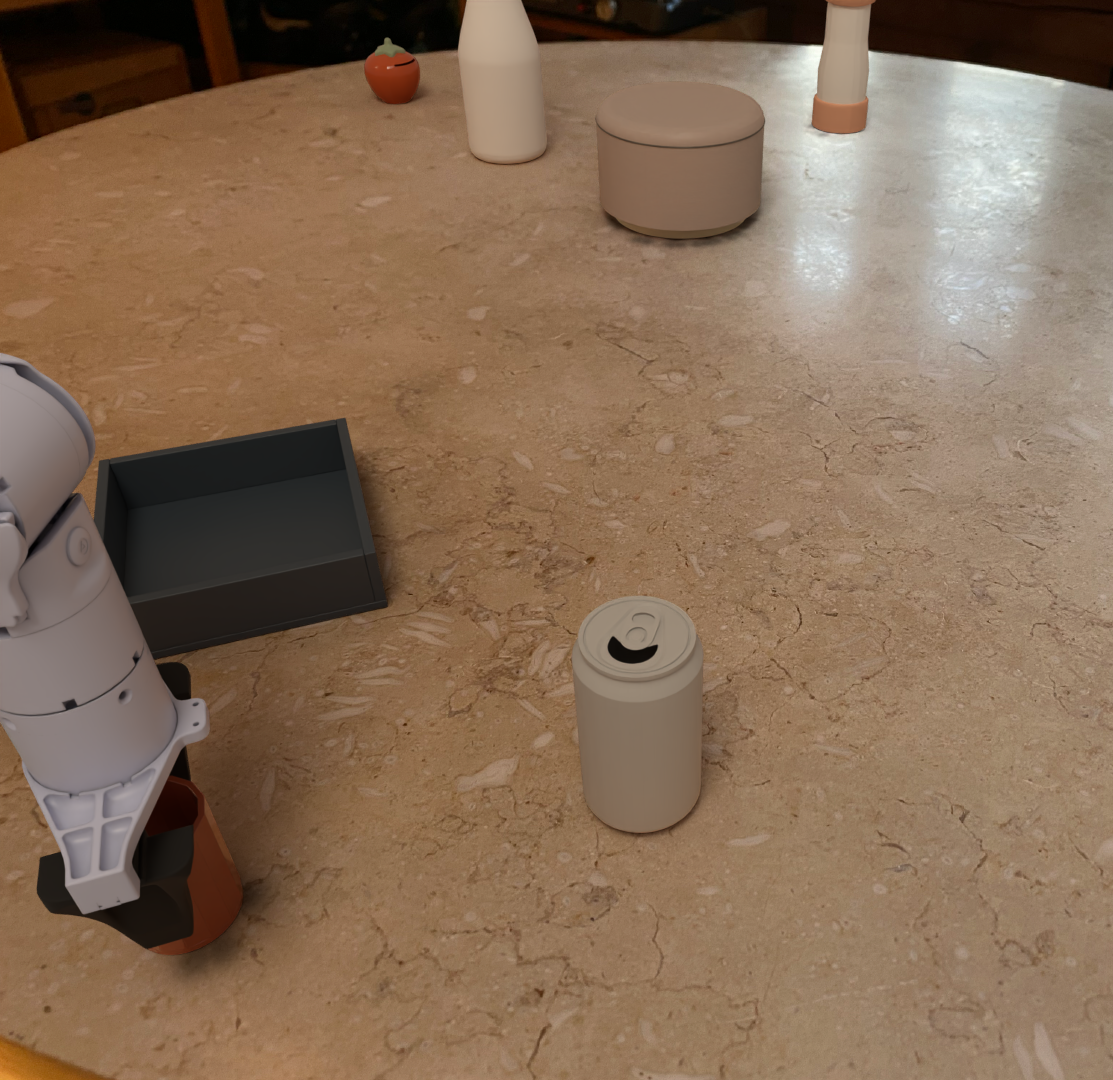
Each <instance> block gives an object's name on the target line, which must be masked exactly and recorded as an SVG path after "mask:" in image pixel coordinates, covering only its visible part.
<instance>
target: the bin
mask: <svg viewBox="0 0 1113 1080" xmlns="http://www.w3.org/2000/svg"><path fill="white" fill-rule="evenodd" d="M97 466H98V467H97V476H96V477H97V478H96V489H95V499H94V511H93V520H94V523H95V525H96V527H97V530H98V532H99V534H100V537H101V539H102V541H103V543H104V546H105V548H106V550H107V553H108V555H109V557H110V560H111V562H112V564H113V566H114V569H115V571H116V573H117V576H118V578H119V580H120V583H121V585H122V587H123V589H124V592H125V594H126V596H127V599H128V601H129V603H130V606H131V608H132V610H133V612H134V615H135V617H136V619H137V622H138V624H139V626H140V629H141V631H142V634H143V636H144V638H145V641H146V643H147V645H148V648H149V650H150V652H151V655H152V657H153V659H154V660H156V659H162V658H165V657H170V656H175V655H178V654H184V653H188V652H191V651H197V650H200V649H201V650H202V649H206V648H209V647H214V646H218V645H223V644H228V643H231V642H237V641H241V640H246V639H249V638H254V637H258V636H263V635H267V634H273V633H276V632H281V631H285V630H290V629H293V628H298V627H303V626H307V625H313V624H316V623H320V622H325V621H330V620H334V619H338V618H343V617H348V616H352V615H356V614H360V613H364V612H370V611H373V610H374V611H375V610H378V609H383V608H387V607H388V606H389V604H388V603H389V602H388V599H387V594H386V589H385V587H384V586H385V585H384V582H383V576H382V573H381V568H380V564H379V558H378V554H377V549H376V545H375V541H374V537H373V533H372V528H371V524H370V519H369V514H368V510H367V505H366V501H365V497H364V492H363V487H362V483H361V479H360V475H359V469H358V466H357V462H356V457H355V453H354V448H353V443H352V440H351V434H350V431H349V427H348V422H347V418H346V417H339V418H336V419H329V420H324V421H318V422H313V423H311V422H310V423H305V424H300V425H294V426H289V427H284V428H283V427H282V428H278V429H277V428H276V429H272V430H266V431H260V432H255V433H254V432H253V433H249V434H243V435H237V436H232V437H231V436H230V437H226V438H220V439H215V440H214V439H213V440H209V441H203V442H195V443H190V444H186V445H180V446H173V447H168V448H162V449H156V450H149V451H143V452H140V453H133V454H127V455H122V456H117V457H110V458H107V459H106V458H105V459H99V460H98V465H97Z"/></svg>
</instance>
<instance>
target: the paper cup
mask: <svg viewBox="0 0 1113 1080" xmlns="http://www.w3.org/2000/svg"><path fill="white" fill-rule="evenodd" d="M189 825H194V858H193V864H192V869H191V874H190V875H189V877H188V879H187V883H188V887H189V891H190V895H191V899H192V904H193V915H194V930H193V934H192V935H191V936H190V937H187V938H184V939H180V940H177V941H174V942H170V943H167V944H163V945H160V946H157V947H153V948H150V949H147V950H148V951H150V952H152V953H155V954H157V955H158V954H159V955H163V956H164V955H165V956H176V955H183V954H187V953H191V952H193V951H197V950H199V949H201V948H203V947H205V946H207V945H209V944H211V943H212V942H214V941H215V940H217V939H218V938H219V937H221V935H223V934H224V933H225V932H226V931H227V930H228V929H229V928H230V926H231V925H232V924H233V923H234V921H235V920H236V919H237V917H238V915H239V913H240V911H241V907H242V905H243V901H244V889H243V884H242V879H241V876H240V873H239V871H238V869H237V867H236V865H235V862H234V860H233V858H232V855H231V853H230V851H229V848H228V847H227V844H226V842H225V839H224V837H223V835H222V832H221V830H220V828H219V826H218V824H217V821H216V819H215V816H214V814H213V812H212V810H211V808H210V805H209V803H208V801H207V798H206V795H205V794H204V793H203V791H201V790H200V788H199V787H198V786H197V785H196V783H194V781H192V780H191V781H189V780H185V779H182V778H178V777H175V776H168V779H167V781H166V783H165V785H164V787H163V789H162V791H161V794H160V796H159V798H158V800H157V802H156V804H155V806H154V809H153V811H152V813H151V815H150V817H149V819H148V821H147V824H146V826H145V828H144V830H146V832H147V834H148V836H152V835H156V834H160V833H163V832H167V831H171V830H174V829H178V828H182V827H186V826H189Z"/></svg>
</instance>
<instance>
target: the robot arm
mask: <svg viewBox="0 0 1113 1080" xmlns="http://www.w3.org/2000/svg"><path fill="white" fill-rule="evenodd" d="M94 431H95V430H94V429H93V426H92V423H91V421H90V419H89V417H88V415H87V413H86V412H85V410H84V409H83V408H82V406H81V405H80V403H79V402H78V401H77V400H76V399H75V398H74V397H73V396H72V395H71V394H70V393H69V392H68V390H66V389H65V388H64V387H63V386H62V385H61V384H59V383H58V382H57V381H55V380H53V379H52V378H51V377H49V376H47V375H46V374H45V373H43V372H41V371H40V370H38V369H37V368H36V367H35V366H34V365H33V364H31V363H30V362H29V361H28V360H26V359H24V358H20V357H18V356H15V355H11V354H7V353H5V352H4V353H3V352H0V725H1V726H2V728H3V730H4V731H5V733H6V735H7V737H8V738H9V740H10V742H11V744H12V745H13V747H14V748H15V750H16V751H17V752H16V753H18V755H19V757H20V758H21V768H22V771H23V775H24V777H25V779H26V781H27V783H28V786H29V788H30V789H31V792H32V794H33V796H34V798H35V800H36V802H37V804H38V806H39V808H40V811H41V813H42V815H43V817H44V819H45V821H46V823H47V825H48V827H49V830H50V831H51V833H52V835H53V838H54V839H55V843H56V844H57V846H58V848H59V851H58V852H54V853H51V854H50V853H49V854H47V855H43V856H40V857H39V862H38V871H37V881H36V895H37V897H38V898H39V900H40V902H41V903H42V904H43V906H44V907H45V909H47V911H48V912H49V913H51V914H53V915H64V916H74V917H79V918H86V919H90V920H94V921H97V922H100V923H102V924H104V925H106V926H108V927H111V928H112V929H114V930H116V931H117V932H119V933H120V934H122V935H123V936H125V937H127V938H128V939H129V940H131V941H133V942H134V943H135V944H137V945H139V946H141V947H142V948H144V949H146V950H148V949H150V948H153V947H157V946H160V945H163V944H167V943H170V942H174V941H177V940H180V939H184V938H187V937H190V936H191V935H192V934H193V930H194V915H193V904H192V899H191V895H190V891H189V887H188V883H187V879H188V877H189V875H190V874H191V869H192V864H193V858H194V825H189V826H186V827H182V828H178V829H174V830H171V831H167V832H163V833H160V834H156V835H152V836H148V834H147V832H146V830H144V828H145V826H146V824H147V821H148V819H149V817H150V815H151V813H152V811H153V809H154V806H155V804H156V802H157V800H158V798H159V796H160V794H161V791H162V789H163V787H164V785H165V783H166V781H167V779H168V776H175V777H178V778H182V779H185V780H189V781H192V775H191V768H190V767H191V766H190V761H189V755H188V749H187V746H188V745H190V744H194V743H198V742H201V741H203V740H205V739H206V738H207V737H208V736H209V734H210V732H211V721H210V720H211V718H210V717H211V716H210V710H209V708H208V705H207V703H206V701H205V699H204V698H201V697H193V698H192V676H191V673H190V670H189V667H187V665H186V664H184V663H183V662H179V661H168V662H162V663H157V664H156V662H155V659H153V657H152V655H151V652H150V650H149V648H148V645H147V643H146V641H145V638H144V636H143V634H142V631H141V629H140V626H139V624H138V622H137V619H136V617H135V615H134V612H133V610H132V608H131V606H130V603H129V601H128V599H127V596H126V594H125V592H124V589H123V587H122V585H121V583H120V580H119V578H118V576H117V573H116V571H115V569H114V566H113V564H112V562H111V560H110V557H109V555H108V553H107V550H106V548H105V546H104V543H103V541H102V539H101V537H100V534H99V532H98V530H97V527H96V525H95V523H94V517H93V516H92V513H91V512H90V509H89V506H88V505H87V502H86V500H85V498H84V495H83V493H81V492H75V490H76V489H77V487H78V486H79V485H80V483H82V481H83V479H84V477H85V476H86V474H87V471H88V469H89V468H90V466H91V465H92V464H93V461H94V458H95V454H96V446H97V445H96V443H97V442H96V436H95V432H94Z"/></svg>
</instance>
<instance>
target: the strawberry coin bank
mask: <svg viewBox="0 0 1113 1080" xmlns="http://www.w3.org/2000/svg"><path fill="white" fill-rule="evenodd" d="M363 67H364V68H363V71H364V72H363V73H364V77H365V79H366V82H367V84H368V86H369V87H370V89H371V91H372V92H373V93H374V94H375V96H377V98H379V99H380V100H381V101H383V102H384V103H386V104H390V105H401V104H405V103H408V102H410V101H412V99H413V98H414V96H415V95H416V94H417V91H418V89H419V86H420V82H421V66H420V64H419V61H418V60H417V58H416V57H415V56H414V55H413V54H412V53H410V52H408V51H406V49H404V48H403V47H401V46H400V45H397V44H393V43H392V40H391V38H389V37H385V38H384V41H383V44H382V45H378V46H377V48H376V49H375V51H374V52H372V53H371V54H370V55H368V56H367V58H366V59H365V61H364V65H363Z"/></svg>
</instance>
